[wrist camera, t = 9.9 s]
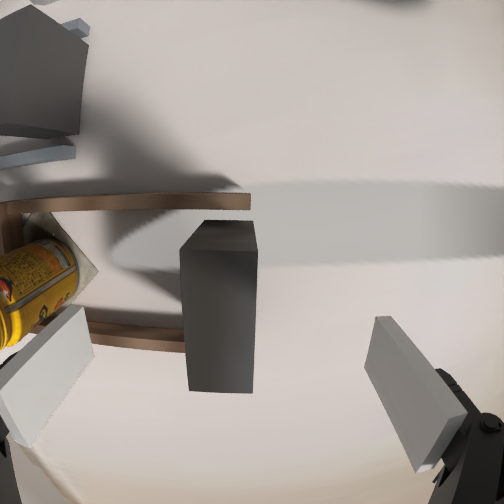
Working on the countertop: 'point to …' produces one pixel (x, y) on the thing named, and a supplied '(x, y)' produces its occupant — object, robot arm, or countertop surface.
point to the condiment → (39, 277)
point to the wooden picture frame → (192, 285)
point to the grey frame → (40, 82)
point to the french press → (42, 2)
